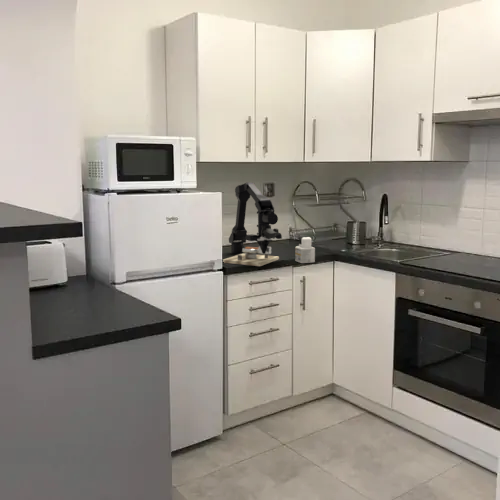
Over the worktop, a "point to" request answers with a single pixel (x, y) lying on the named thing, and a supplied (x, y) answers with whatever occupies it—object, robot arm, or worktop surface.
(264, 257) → the base plate
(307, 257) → the container
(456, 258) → the worktop surface
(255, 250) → the grey piece
